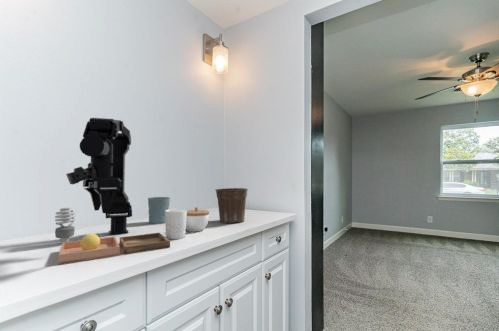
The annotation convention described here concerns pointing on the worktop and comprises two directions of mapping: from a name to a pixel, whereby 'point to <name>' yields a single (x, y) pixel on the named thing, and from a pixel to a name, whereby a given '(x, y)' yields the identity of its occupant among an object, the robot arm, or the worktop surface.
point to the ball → (90, 242)
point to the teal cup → (158, 209)
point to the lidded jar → (197, 219)
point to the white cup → (175, 223)
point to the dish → (88, 251)
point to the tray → (143, 243)
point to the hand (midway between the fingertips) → (100, 211)
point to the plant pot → (231, 204)
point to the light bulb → (65, 231)
